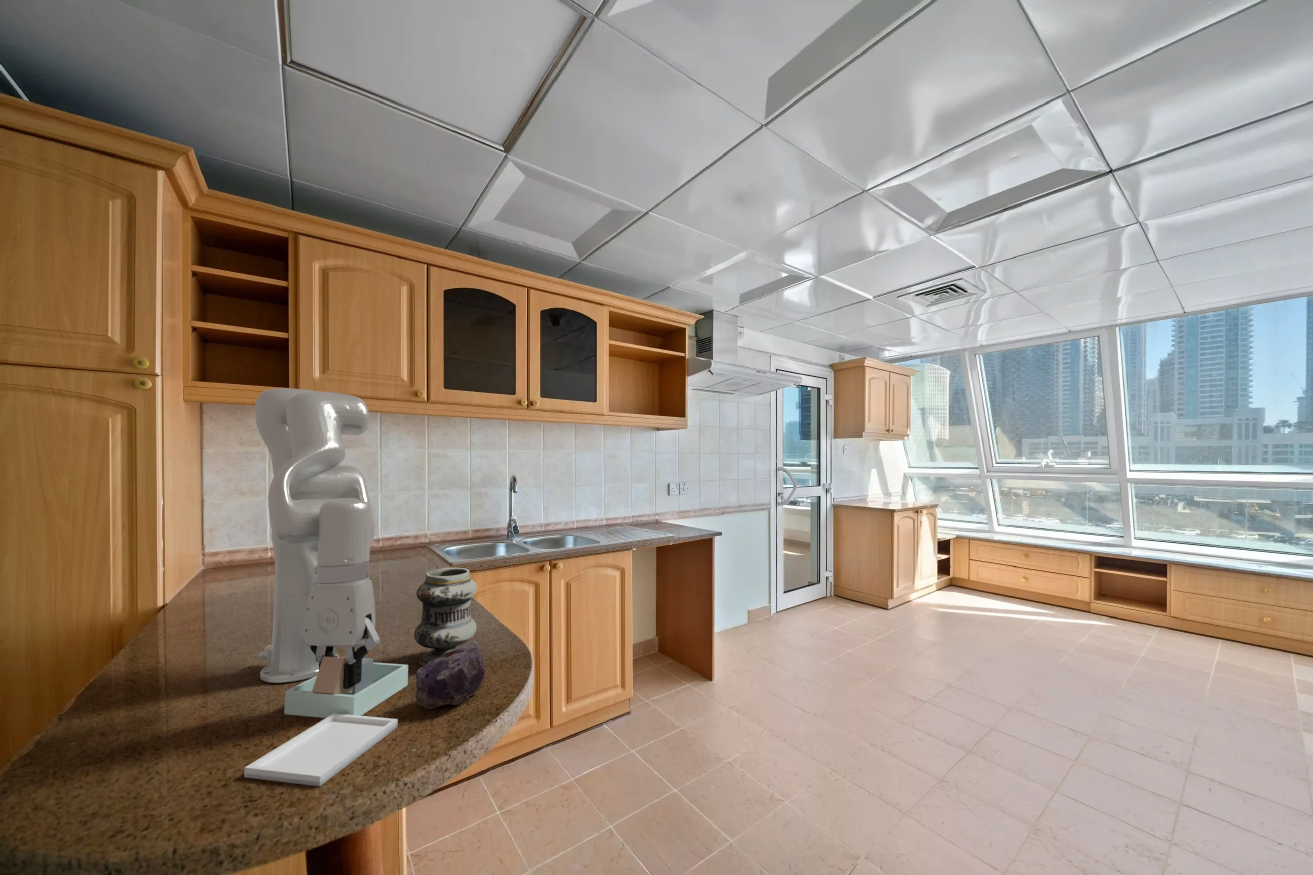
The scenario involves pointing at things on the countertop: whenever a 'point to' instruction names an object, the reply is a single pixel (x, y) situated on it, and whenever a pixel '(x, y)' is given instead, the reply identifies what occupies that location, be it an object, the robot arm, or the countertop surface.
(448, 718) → the countertop surface
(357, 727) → the tray
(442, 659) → the rock
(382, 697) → the seafoam storage bin
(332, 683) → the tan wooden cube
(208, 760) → the countertop surface
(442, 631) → the apothecary jar
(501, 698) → the countertop surface
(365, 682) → the matte grey cube
